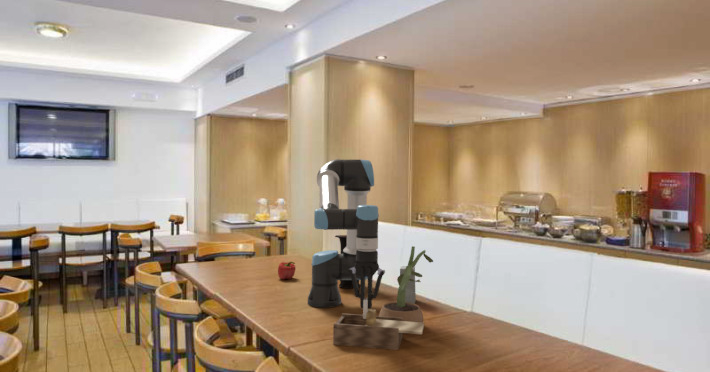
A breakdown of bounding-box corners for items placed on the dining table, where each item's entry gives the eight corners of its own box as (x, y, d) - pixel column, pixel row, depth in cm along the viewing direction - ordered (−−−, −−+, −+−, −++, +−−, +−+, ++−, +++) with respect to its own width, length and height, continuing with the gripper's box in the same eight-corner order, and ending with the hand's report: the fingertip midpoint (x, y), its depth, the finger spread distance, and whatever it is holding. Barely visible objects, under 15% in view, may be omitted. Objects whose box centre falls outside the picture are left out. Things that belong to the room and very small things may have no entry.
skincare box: (414, 304, 215) (415, 269, 215) (398, 303, 217) (399, 268, 217) (416, 299, 224) (416, 265, 223) (400, 298, 225) (401, 265, 225)
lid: (364, 329, 161) (364, 315, 161) (369, 320, 171) (370, 307, 171) (421, 334, 157) (422, 319, 157) (424, 325, 167) (424, 311, 167)
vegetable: (300, 278, 267) (300, 260, 267) (288, 281, 258) (288, 263, 258) (285, 276, 273) (285, 258, 273) (273, 279, 264) (273, 261, 264)
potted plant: (408, 337, 170) (409, 253, 169) (369, 326, 182) (370, 247, 182) (442, 324, 187) (443, 247, 186) (405, 314, 199) (406, 242, 198)
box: (333, 344, 162) (333, 323, 162) (342, 332, 175) (342, 313, 175) (398, 350, 157) (398, 328, 157) (402, 337, 170) (402, 317, 170)
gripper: (346, 250, 163) (345, 319, 164) (383, 252, 161) (382, 322, 161) (350, 247, 171) (349, 313, 171) (387, 249, 168) (386, 316, 168)
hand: (365, 317), depth 166 cm, fingers closed
